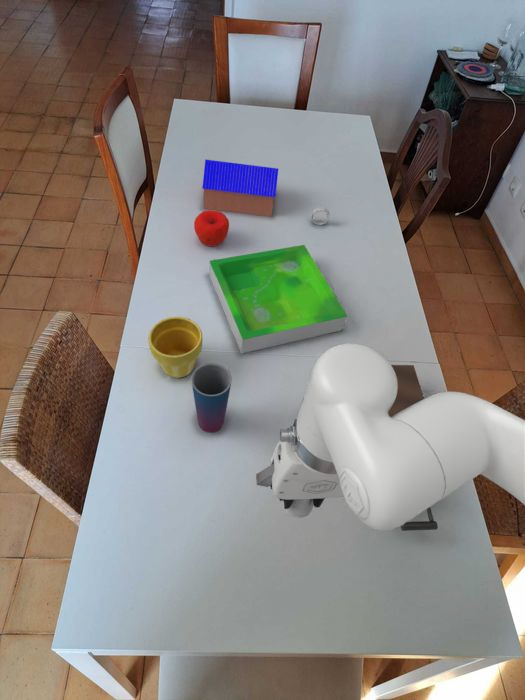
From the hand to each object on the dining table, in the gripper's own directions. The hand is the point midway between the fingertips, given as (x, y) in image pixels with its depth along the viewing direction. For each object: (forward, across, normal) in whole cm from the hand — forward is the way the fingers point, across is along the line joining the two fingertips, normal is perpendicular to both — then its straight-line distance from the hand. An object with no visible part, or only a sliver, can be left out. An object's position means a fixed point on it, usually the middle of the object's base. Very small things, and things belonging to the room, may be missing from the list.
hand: (300, 496), depth 62 cm
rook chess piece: (+3, 0, 0) cm, 3 cm away
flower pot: (+19, -19, +36) cm, 44 cm away
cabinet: (+19, +23, +22) cm, 37 cm away
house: (+19, -3, +94) cm, 96 cm away
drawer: (+18, +23, +9) cm, 31 cm away
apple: (+19, -11, +75) cm, 78 cm away
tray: (+19, +3, +54) cm, 57 cm away
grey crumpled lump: (+19, +19, +85) cm, 89 cm away
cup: (+19, -12, +22) cm, 31 cm away
